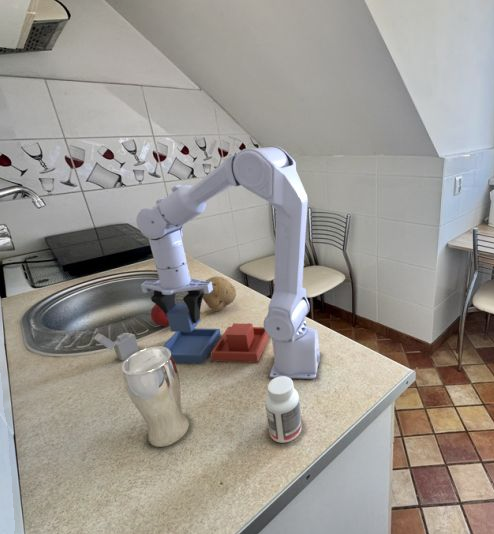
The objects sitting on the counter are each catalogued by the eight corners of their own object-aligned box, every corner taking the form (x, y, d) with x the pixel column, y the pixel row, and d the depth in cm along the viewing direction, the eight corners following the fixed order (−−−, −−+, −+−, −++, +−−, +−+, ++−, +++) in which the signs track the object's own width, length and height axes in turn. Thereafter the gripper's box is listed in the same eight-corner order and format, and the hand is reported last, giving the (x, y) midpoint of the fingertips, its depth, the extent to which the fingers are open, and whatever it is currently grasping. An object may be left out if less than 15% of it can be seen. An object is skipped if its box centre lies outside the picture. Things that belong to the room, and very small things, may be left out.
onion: (169, 333, 81) (161, 305, 78) (149, 331, 82) (141, 303, 79) (184, 321, 86) (177, 294, 83) (165, 319, 87) (158, 293, 84)
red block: (254, 339, 77) (252, 323, 75) (248, 351, 73) (246, 335, 71) (236, 339, 77) (233, 323, 76) (229, 351, 73) (225, 334, 71)
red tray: (269, 334, 80) (268, 327, 79) (257, 362, 70) (256, 353, 69) (229, 334, 80) (228, 326, 79) (212, 360, 71) (210, 352, 70)
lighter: (135, 348, 76) (125, 319, 72) (139, 350, 75) (130, 320, 72) (103, 366, 70) (91, 335, 67) (108, 368, 69) (96, 338, 66)
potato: (233, 298, 97) (228, 268, 93) (242, 311, 90) (237, 279, 86) (202, 307, 93) (195, 275, 89) (208, 321, 86) (201, 287, 82)
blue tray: (221, 336, 79) (219, 328, 79) (202, 363, 70) (200, 355, 69) (181, 335, 80) (179, 327, 79) (157, 362, 71) (155, 354, 70)
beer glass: (143, 456, 50) (115, 381, 44) (148, 422, 56) (124, 352, 50) (191, 440, 53) (171, 367, 47) (191, 409, 58) (173, 341, 53)
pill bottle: (303, 416, 57) (299, 372, 53) (300, 443, 52) (295, 397, 48) (272, 417, 57) (266, 373, 53) (266, 444, 52) (259, 398, 48)
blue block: (201, 320, 74) (197, 303, 72) (191, 332, 70) (187, 313, 68) (181, 320, 74) (177, 302, 72) (170, 331, 70) (166, 313, 68)
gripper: (124, 271, 63) (142, 330, 68) (196, 272, 62) (209, 331, 67) (146, 258, 69) (161, 312, 75) (212, 258, 68) (222, 313, 74)
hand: (185, 320), depth 71 cm, fingers closed on blue block, 4 cm apart
